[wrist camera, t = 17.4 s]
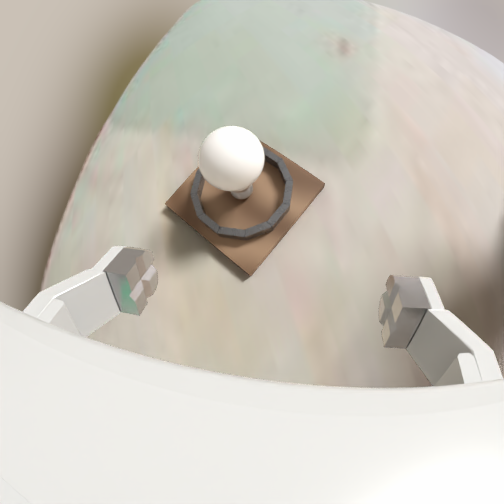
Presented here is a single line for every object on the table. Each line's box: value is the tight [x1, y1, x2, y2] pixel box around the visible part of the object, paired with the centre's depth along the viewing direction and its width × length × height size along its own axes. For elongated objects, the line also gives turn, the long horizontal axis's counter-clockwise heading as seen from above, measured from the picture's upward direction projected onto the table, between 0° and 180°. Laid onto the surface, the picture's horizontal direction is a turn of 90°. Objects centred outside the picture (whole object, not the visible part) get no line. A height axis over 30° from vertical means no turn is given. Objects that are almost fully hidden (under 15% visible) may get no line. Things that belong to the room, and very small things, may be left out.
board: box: [165, 140, 325, 276], centre depth 35 cm, size 14×14×1 cm
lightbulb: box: [198, 126, 265, 199], centre depth 29 cm, size 6×6×11 cm
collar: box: [190, 146, 293, 241], centre depth 33 cm, size 12×12×2 cm
